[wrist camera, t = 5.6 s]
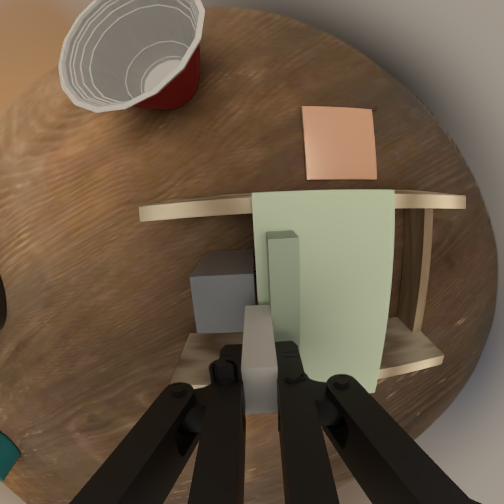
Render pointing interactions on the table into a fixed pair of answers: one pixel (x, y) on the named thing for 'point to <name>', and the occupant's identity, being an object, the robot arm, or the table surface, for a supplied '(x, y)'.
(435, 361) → the wooden box
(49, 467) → the table surface
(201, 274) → the slate block
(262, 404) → the robot arm
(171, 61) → the plastic cup
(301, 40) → the table surface
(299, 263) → the cover
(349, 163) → the terracotta coaster
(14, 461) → the cup
